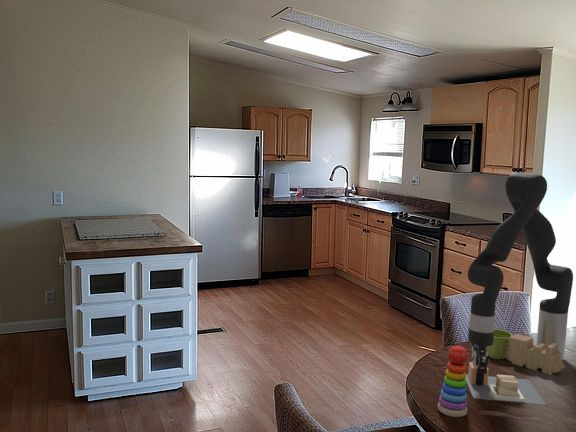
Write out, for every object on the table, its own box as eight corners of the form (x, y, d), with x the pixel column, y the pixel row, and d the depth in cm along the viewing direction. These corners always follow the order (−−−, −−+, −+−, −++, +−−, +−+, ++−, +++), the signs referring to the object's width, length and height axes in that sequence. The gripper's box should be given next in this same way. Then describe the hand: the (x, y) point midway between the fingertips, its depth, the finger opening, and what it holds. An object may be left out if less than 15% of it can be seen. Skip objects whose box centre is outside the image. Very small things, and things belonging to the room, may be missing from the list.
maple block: (495, 390, 167) (496, 374, 166) (512, 392, 166) (513, 375, 165) (499, 397, 162) (500, 381, 161) (517, 399, 161) (518, 382, 160)
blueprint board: (463, 377, 179) (463, 371, 178) (528, 382, 176) (529, 376, 175) (473, 401, 161) (473, 394, 161) (546, 408, 158) (546, 401, 158)
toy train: (557, 380, 179) (560, 350, 178) (505, 364, 191) (508, 336, 190) (563, 375, 183) (566, 346, 182) (512, 360, 195) (515, 333, 194)
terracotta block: (467, 377, 176) (469, 362, 175) (484, 378, 175) (485, 363, 175) (470, 383, 171) (471, 368, 170) (487, 385, 170) (488, 369, 170)
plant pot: (513, 355, 200) (515, 332, 199) (507, 363, 192) (509, 339, 191) (486, 350, 204) (487, 327, 204) (480, 357, 197) (481, 334, 196)
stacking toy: (451, 420, 149) (456, 353, 147) (431, 408, 156) (435, 343, 154) (473, 415, 152) (478, 349, 150) (452, 403, 159) (456, 339, 157)
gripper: (499, 336, 164) (495, 391, 165) (489, 321, 178) (485, 373, 180) (473, 334, 165) (469, 389, 167) (465, 320, 179) (461, 371, 181)
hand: (477, 380), depth 173 cm, fingers closed on terracotta block, 5 cm apart
